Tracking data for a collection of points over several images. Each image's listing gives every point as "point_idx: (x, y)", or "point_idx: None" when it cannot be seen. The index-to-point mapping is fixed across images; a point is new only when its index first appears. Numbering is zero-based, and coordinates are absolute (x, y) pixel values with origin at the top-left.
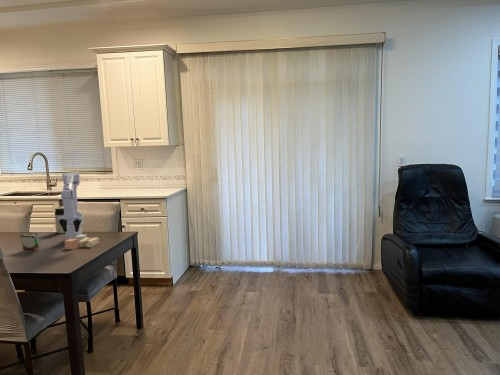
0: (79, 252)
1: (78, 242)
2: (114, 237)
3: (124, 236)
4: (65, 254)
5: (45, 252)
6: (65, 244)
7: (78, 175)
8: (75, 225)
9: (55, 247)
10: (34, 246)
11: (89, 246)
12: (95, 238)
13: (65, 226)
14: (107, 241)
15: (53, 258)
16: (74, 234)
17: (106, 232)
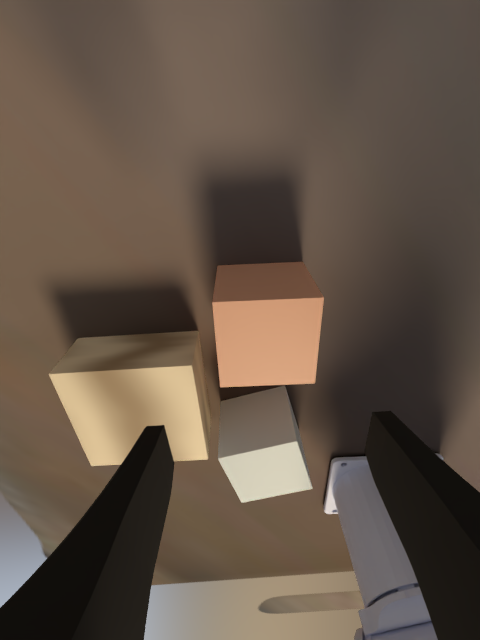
0: (40, 164)
1: (267, 401)
2: None
3: None
4: (144, 50)
5: (470, 102)
6: (302, 279)
7: None
8: (68, 566)
9: (433, 291)
10: None
11: (96, 340)
12: (97, 447)
13: (417, 534)
14: (88, 462)
15: None
16: (379, 503)
17: (250, 571)
